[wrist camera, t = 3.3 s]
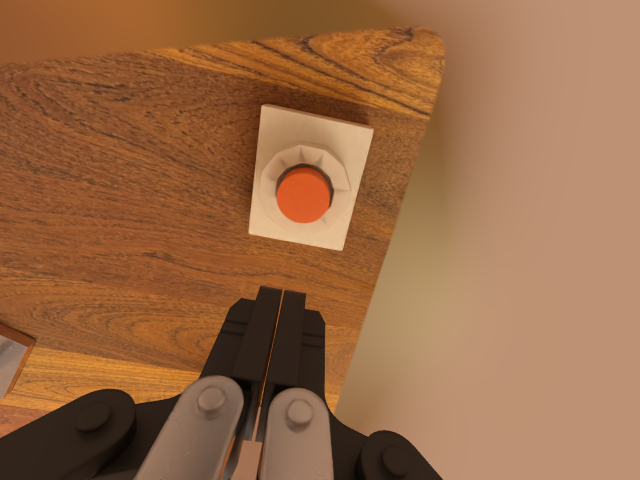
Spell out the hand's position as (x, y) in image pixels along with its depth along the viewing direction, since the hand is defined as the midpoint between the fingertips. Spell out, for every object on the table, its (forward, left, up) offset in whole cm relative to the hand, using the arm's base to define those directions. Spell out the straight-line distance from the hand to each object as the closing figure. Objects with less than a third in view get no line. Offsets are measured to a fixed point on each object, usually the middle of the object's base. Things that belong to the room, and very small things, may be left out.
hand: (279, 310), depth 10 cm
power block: (0, 0, -17) cm, 17 cm away
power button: (0, 0, -13) cm, 13 cm away
